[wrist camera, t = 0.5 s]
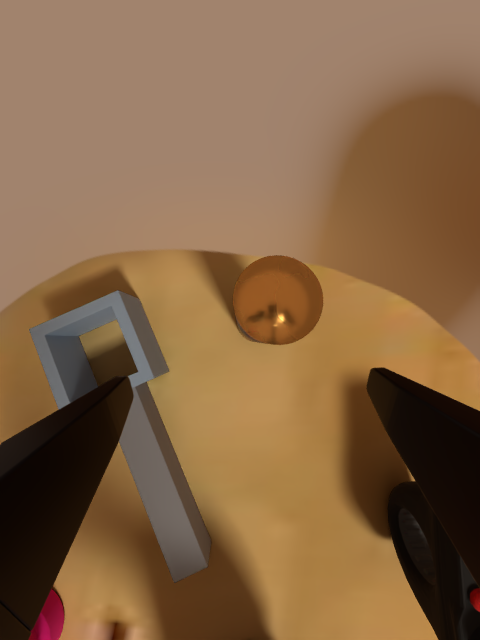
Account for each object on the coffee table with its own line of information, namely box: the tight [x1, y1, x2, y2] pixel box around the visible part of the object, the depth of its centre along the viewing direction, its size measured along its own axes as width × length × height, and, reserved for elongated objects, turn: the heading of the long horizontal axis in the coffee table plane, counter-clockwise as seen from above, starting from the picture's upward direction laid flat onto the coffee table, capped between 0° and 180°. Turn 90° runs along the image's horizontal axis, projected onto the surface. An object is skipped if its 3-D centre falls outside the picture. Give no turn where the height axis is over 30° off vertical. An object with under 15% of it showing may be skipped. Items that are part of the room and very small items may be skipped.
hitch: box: [29, 290, 211, 583], centre depth 20 cm, size 24×8×4 cm, turn 24°
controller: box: [388, 481, 480, 640], centre depth 17 cm, size 4×12×10 cm, turn 1°
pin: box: [233, 255, 323, 345], centre depth 17 cm, size 4×4×13 cm
